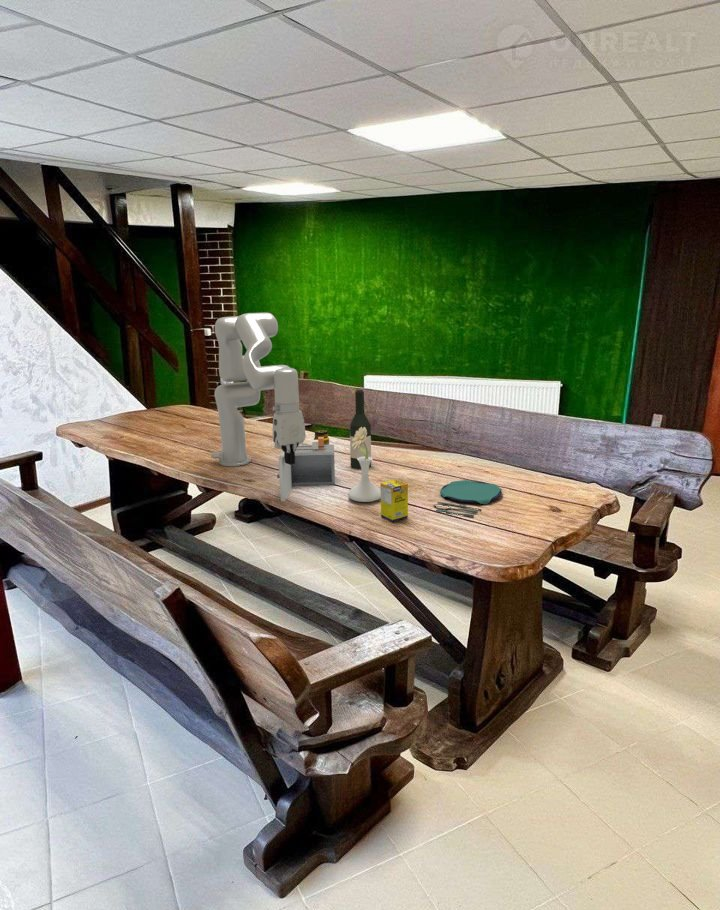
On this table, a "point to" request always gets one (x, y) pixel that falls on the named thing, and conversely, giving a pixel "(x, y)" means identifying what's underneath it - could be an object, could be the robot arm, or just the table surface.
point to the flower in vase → (363, 473)
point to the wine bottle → (355, 424)
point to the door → (284, 477)
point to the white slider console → (313, 466)
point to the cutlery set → (468, 494)
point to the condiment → (322, 434)
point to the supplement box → (394, 500)
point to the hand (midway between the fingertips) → (290, 463)
